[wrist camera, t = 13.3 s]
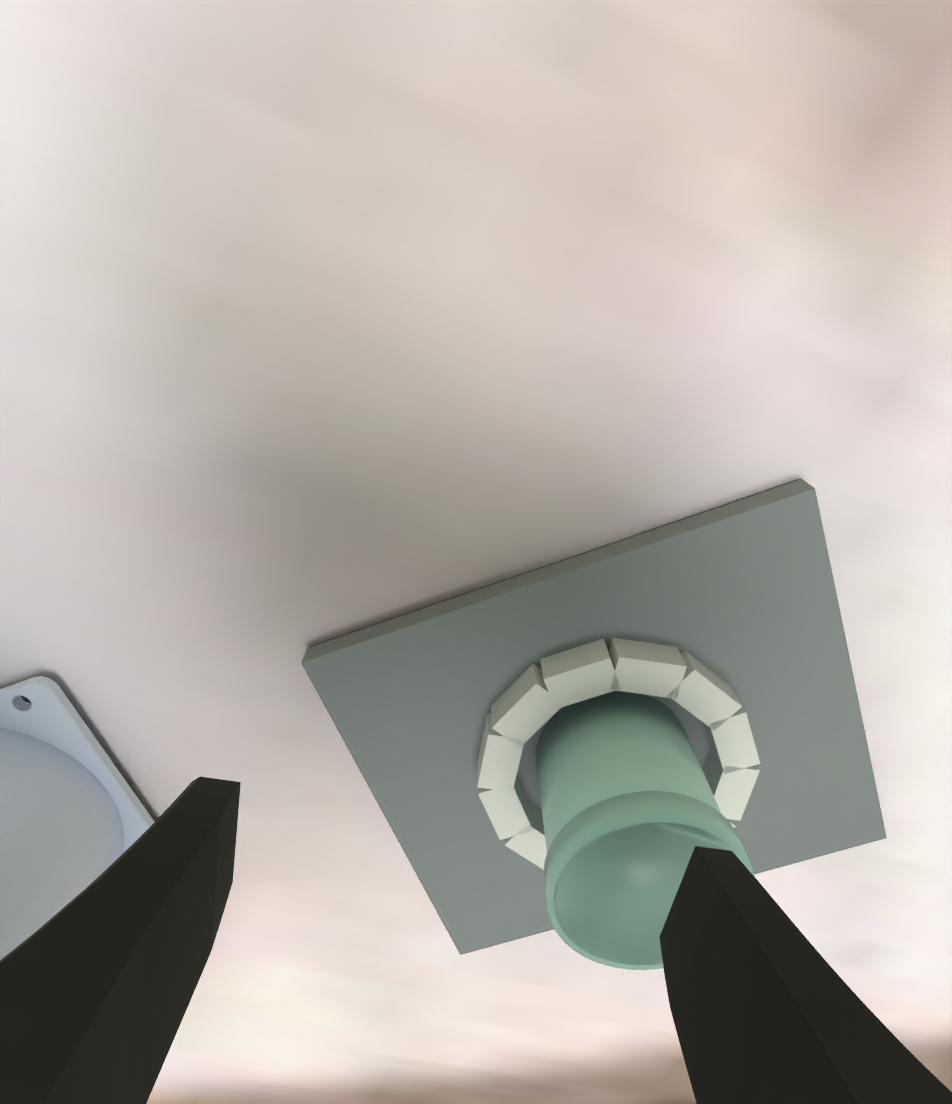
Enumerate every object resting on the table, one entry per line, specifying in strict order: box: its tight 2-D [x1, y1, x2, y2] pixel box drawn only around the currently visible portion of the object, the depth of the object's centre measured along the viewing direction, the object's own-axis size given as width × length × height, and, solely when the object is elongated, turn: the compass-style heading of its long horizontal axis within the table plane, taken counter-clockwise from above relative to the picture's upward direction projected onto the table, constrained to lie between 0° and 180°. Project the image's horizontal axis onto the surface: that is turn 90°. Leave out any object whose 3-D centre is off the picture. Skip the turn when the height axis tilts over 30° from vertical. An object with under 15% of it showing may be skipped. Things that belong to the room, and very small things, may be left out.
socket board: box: [302, 479, 886, 955], centre depth 21 cm, size 14×12×2 cm
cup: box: [536, 691, 754, 970], centre depth 19 cm, size 5×5×5 cm
